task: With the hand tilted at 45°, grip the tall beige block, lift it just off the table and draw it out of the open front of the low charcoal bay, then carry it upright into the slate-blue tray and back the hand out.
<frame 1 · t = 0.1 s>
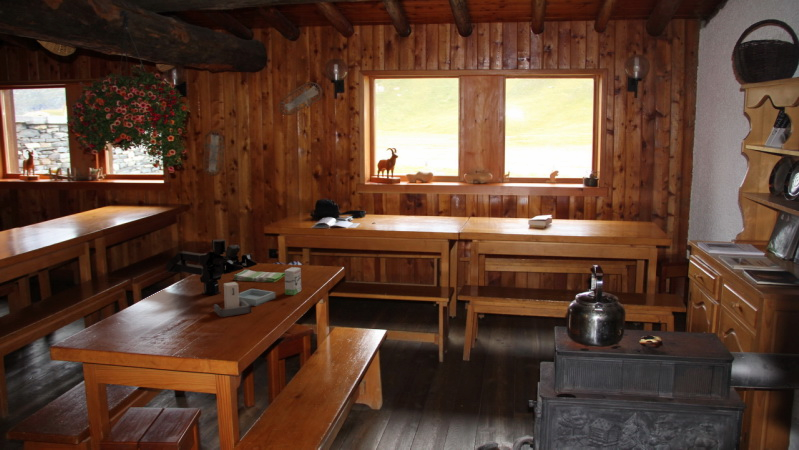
hand: (249, 265, 305), 17 cm above the table, tool horizontal, fingers open, 9 cm apart
dish towel: (260, 278, 351), on the table
ink box: (293, 293, 322), on the table
bay: (232, 311, 292), on the table
tall beige block: (232, 298, 290), in the bay
tray: (254, 300, 309), on the table
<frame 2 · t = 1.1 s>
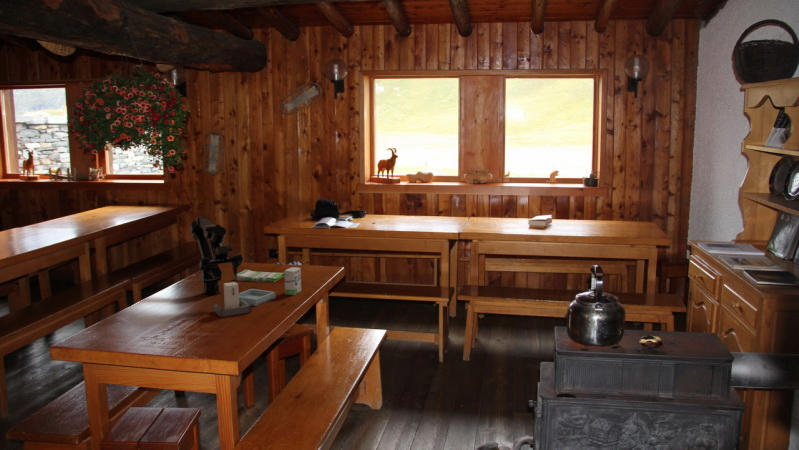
hand: (225, 277, 296), 14 cm above the table, tool tilted 45°, fingers open, 9 cm apart
nothing on the table moved.
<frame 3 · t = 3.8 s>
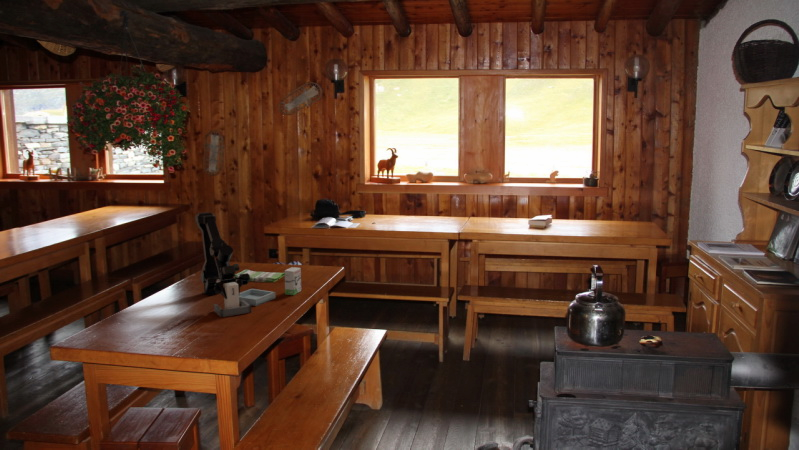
hand: (232, 297, 290), 7 cm above the table, tool tilted 45°, fingers closed on tall beige block, 5 cm apart
tall beige block: (232, 298, 290), in the bay, touching gripper
everything else where it was.
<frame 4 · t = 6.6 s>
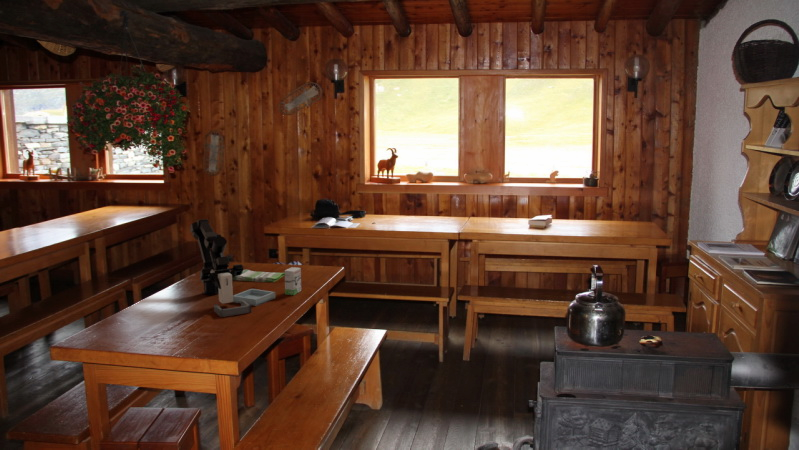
hand: (226, 287, 297), 9 cm above the table, tool tilted 45°, fingers closed on tall beige block, 5 cm apart
tall beige block: (225, 288, 298), point 9 cm above the table, touching gripper
everything else where it was.
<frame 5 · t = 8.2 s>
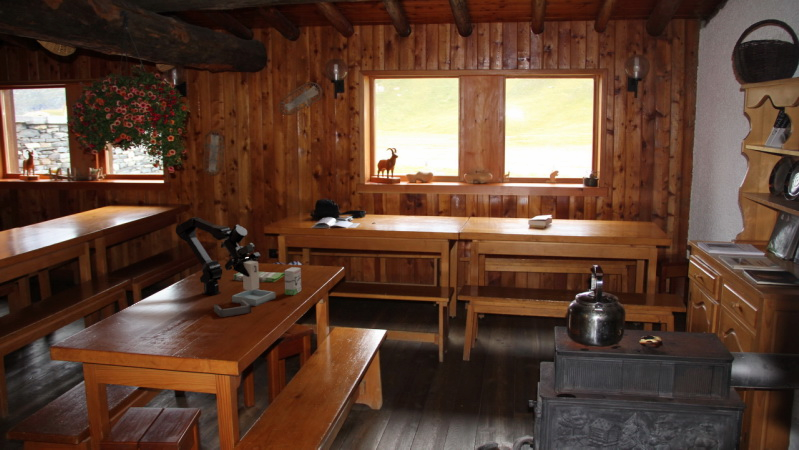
hand: (253, 275, 305), 12 cm above the table, tool tilted 45°, fingers closed on tall beige block, 5 cm apart
tall beige block: (251, 275, 306), point 12 cm above the table, touching gripper
everything else where it was.
when the fingers open (8 cm above the table, at t = 9.7 s): tall beige block drops 1 cm, resting on tray.
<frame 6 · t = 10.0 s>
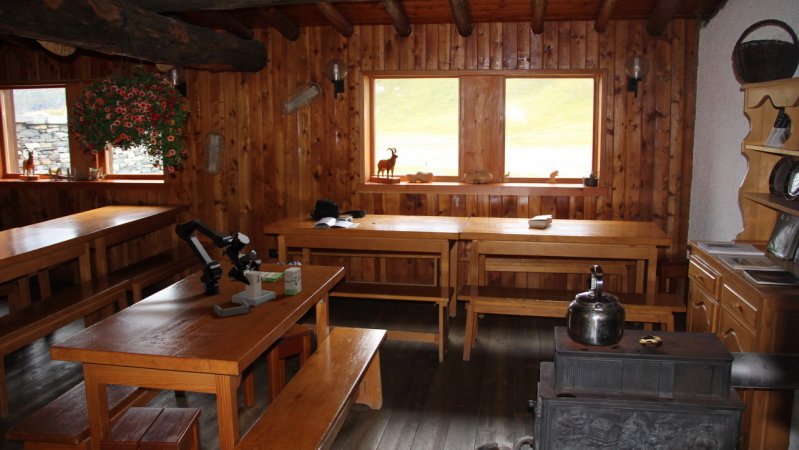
hand: (255, 282, 307), 9 cm above the table, tool tilted 45°, fingers open, 8 cm apart
tall beige block: (254, 285, 308), in the tray, point 7 cm above the table
everything else where it was.
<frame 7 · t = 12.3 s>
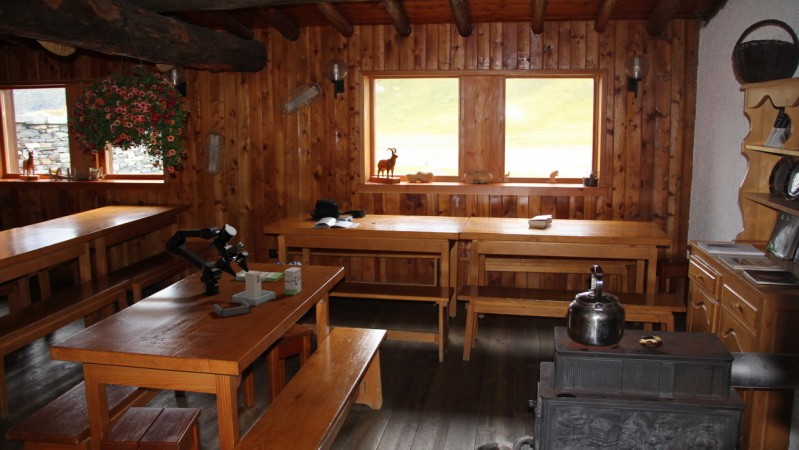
hand: (242, 274, 310), 12 cm above the table, tool tilted 45°, fingers open, 9 cm apart
nothing on the table moved.
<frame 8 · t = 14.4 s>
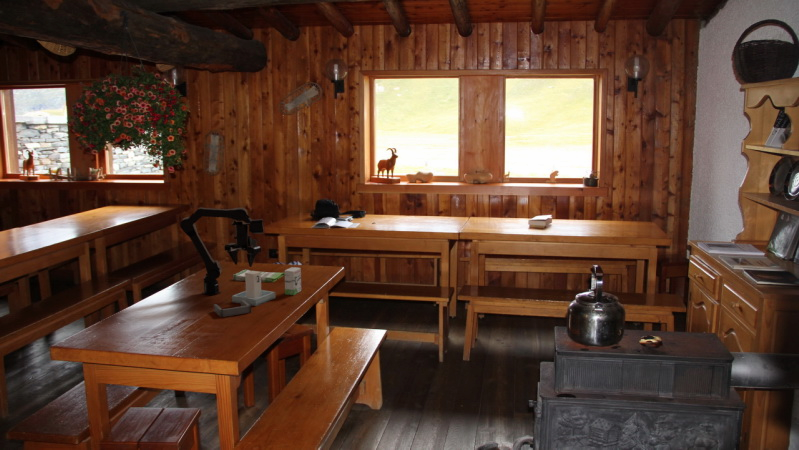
hand: (243, 265, 321), 13 cm above the table, tool pointing down, fingers open, 9 cm apart
nothing on the table moved.
at the end: tall beige block inside the target area on the tray (0.0 cm from its centre), point 7.0 cm above the tray's base; tall beige block tilted 0°; the gripper is holding nothing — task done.
